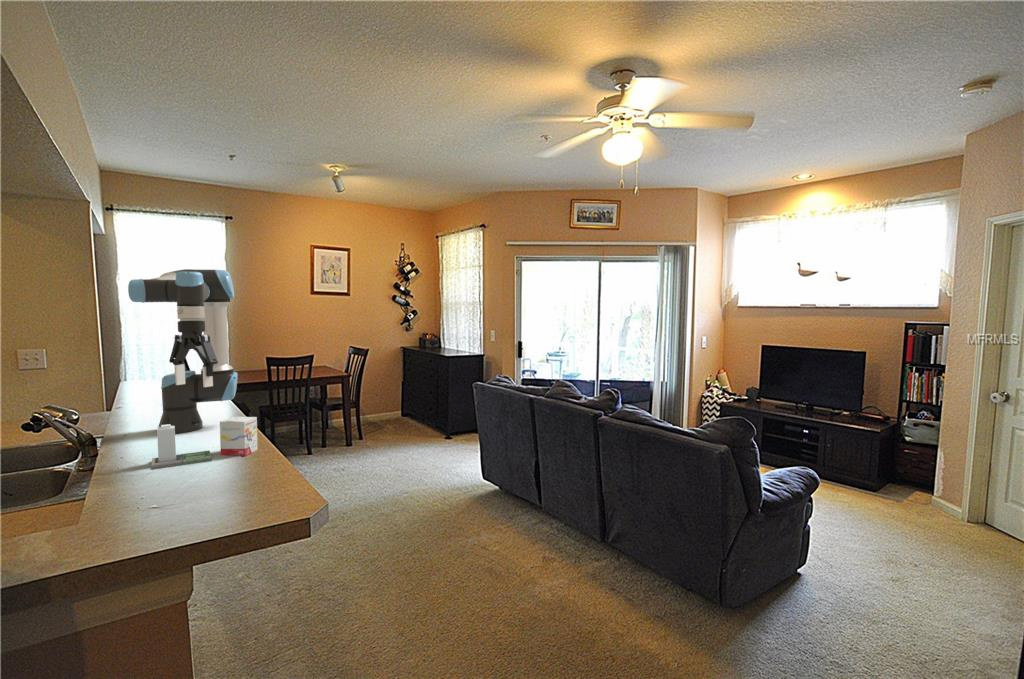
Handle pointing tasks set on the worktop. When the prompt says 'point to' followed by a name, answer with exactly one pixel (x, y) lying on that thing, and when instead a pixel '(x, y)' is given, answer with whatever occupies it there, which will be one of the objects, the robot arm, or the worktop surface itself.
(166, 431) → the plug
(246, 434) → the ink box
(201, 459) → the panel
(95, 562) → the worktop surface
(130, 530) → the worktop surface
